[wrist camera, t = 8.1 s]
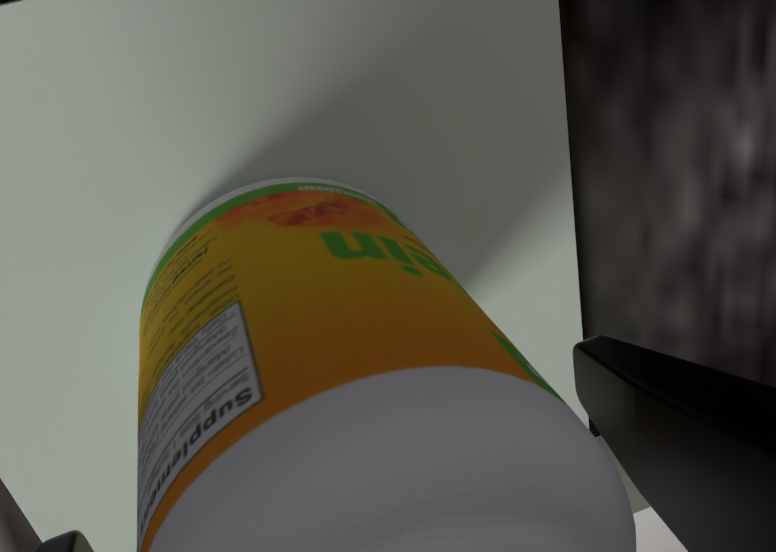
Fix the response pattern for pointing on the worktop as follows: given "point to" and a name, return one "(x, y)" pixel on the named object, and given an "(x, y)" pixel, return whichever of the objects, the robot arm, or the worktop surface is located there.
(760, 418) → the robot arm
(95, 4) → the mat
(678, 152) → the worktop surface
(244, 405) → the supplement bottle
